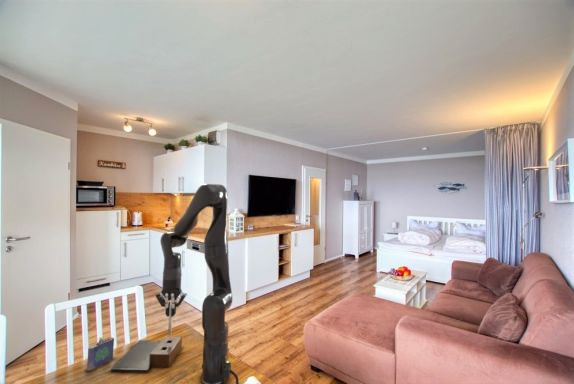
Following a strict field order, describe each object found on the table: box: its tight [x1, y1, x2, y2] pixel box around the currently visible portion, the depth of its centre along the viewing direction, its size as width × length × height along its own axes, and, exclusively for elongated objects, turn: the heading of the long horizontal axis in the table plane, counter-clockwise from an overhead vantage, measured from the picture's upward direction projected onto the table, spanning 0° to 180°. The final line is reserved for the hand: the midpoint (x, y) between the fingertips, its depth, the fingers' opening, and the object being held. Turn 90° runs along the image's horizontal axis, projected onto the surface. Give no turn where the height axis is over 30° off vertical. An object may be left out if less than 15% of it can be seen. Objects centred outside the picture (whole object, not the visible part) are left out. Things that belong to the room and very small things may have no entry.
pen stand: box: [149, 336, 183, 368], centre depth 110 cm, size 8×13×5 cm, turn 1°
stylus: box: [167, 303, 173, 336], centre depth 113 cm, size 1×1×13 cm
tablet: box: [110, 339, 161, 373], centre depth 110 cm, size 14×20×1 cm
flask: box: [86, 336, 115, 372], centre depth 103 cm, size 9×3×11 cm, turn 151°
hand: (170, 315), depth 113 cm, fingers closed on stylus, 1 cm apart
